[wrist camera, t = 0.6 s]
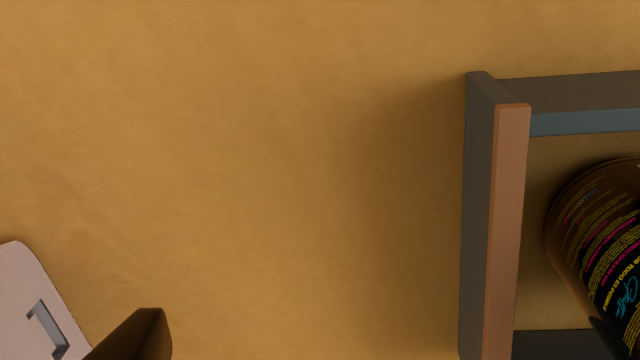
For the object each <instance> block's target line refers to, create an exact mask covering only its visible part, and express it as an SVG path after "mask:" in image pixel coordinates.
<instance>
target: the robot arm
mask: <svg viewBox="0 0 640 360" xmlns="http://www.w3.org/2000/svg"><path fill="white" fill-rule="evenodd" d="M171 357H172V339H171V335H170V331H169V327H168V323H167V319H166V315H165V312H164V310H163V309H161V308H140V309H138V310H136V311H135V312H134V313H133V314H131V315H130V316H129V317H128V318H127V319H126V320H125V321H124V322H123V323H121V324H120V325H119V326H118V327H117V328H116V329H115V330H114V331H113V332H111V333H110V334H109V335H108V336H107V337H106V338H105V339H104V340H103V341H101V342H100V343H99V344H98V345H97V346H96V347H95V348H94V349H93V350H91V351H90V352H89V353H88V354H87V355H86V356H85V357H84V358H83V359H81V360H171Z"/></svg>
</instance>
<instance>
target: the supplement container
mask: <svg viewBox="0 0 640 360" xmlns="http://www.w3.org/2000/svg"><path fill="white" fill-rule="evenodd" d="M544 242H545V249H546V253H547V255H548V258H549V260H550V262H551V264H552V265H553V267H554V268H555V270H556V271H557V273H558V274H559V276H560V277H561V279H562V281H563V282H564V284H565V285H566V287H567V288H568V290H569V291H570V293H571V294H572V296H573V297H574V299H575V300H576V302H577V304H578V305H579V307H580V308H581V310H582V311H583V313H584V314H585V316H586V317H587V319H588V320H589V322H590V323H591V325H592V326H593V328H594V330H595V331H596V333H597V334H598V336H599V337H600V339H601V340H602V342H603V343H604V345H605V346H606V348H607V349H608V351H609V352H610V354H611V356H612V357H613V359H614V360H640V158H623V159H617V160H612V161H609V162H606V163H602V164H600V165H598V166H595V167H593V168H591V169H589V170H587V171H586V172H584V173H582V174H581V175H579V176H578V177H577V178H575V179H574V180H573V181H572V182H570V183H569V184H568V185H567V186H566V187H565V188H564V189H563V190H562V192H561V193H560V194H559V195H558V197H557V198H556V200H555V201H554V203H553V205H552V207H551V209H550V211H549V213H548V216H547V220H546V224H545V232H544Z"/></svg>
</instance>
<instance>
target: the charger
mask: <svg viewBox="0 0 640 360" xmlns="http://www.w3.org/2000/svg"><path fill="white" fill-rule="evenodd" d="M91 350H92V348H91V347H90V345H89V343H88V342H87V340H86V338H85V337H84V335H83V333H82V332H81V330H80V328H79V327H78V325H77V323H76V322H75V320H74V318H73V317H72V315H71V313H70V312H69V310H68V309H67V307H66V305H65V304H64V302H63V300H62V299H61V297H60V295H59V294H58V292H57V290H56V289H55V287H54V285H53V284H52V282H51V280H50V279H49V277H48V275H47V274H46V272H45V271H44V269H43V267H42V266H41V264H40V262H39V261H38V259H37V258H36V256H35V255H34V254H33V253H32V251H31V250H30V249H29V248H28V247H27V246H25V245H24V244H23V243H21V242H19V241H16V240H15V241H11V242H8V243H4V244H1V245H0V360H81V359H83V358H84V357H85V356H86V355H87V354H88V353H89V352H90V351H91Z"/></svg>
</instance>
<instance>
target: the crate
mask: <svg viewBox="0 0 640 360" xmlns="http://www.w3.org/2000/svg"><path fill="white" fill-rule="evenodd" d="M625 131H640V70H634V71H619V72H605V73H590V74H575V75H560V76H545V77H531V78H516V79H501V80H495V79H494V78H493V77H492V76H490V75H489V74H488V73H487V72H486V71H475V72H467V73H466V92H465V126H464V160H463V194H462V228H461V262H460V296H459V330H458V353H459V357H460V360H614V359H613V357H612V356H611V354H610V352H609V351H608V349H607V348H606V346H605V345H604V343H603V342H602V340H601V339H600V337H599V336H598V334H597V333H596V331H595V330H594V329H586V330H552V331H518V332H513V327H514V315H515V303H516V290H517V278H518V265H519V253H520V241H521V228H522V216H523V204H524V191H525V179H526V167H527V154H528V142H529V137H539V136H557V135H574V134H591V133H608V132H625Z"/></svg>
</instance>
